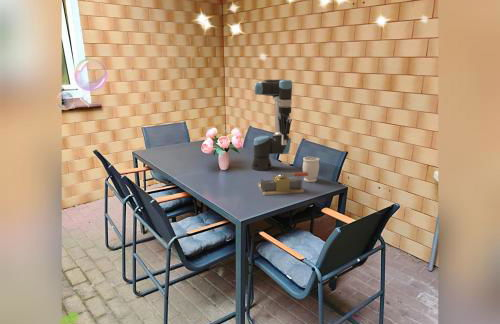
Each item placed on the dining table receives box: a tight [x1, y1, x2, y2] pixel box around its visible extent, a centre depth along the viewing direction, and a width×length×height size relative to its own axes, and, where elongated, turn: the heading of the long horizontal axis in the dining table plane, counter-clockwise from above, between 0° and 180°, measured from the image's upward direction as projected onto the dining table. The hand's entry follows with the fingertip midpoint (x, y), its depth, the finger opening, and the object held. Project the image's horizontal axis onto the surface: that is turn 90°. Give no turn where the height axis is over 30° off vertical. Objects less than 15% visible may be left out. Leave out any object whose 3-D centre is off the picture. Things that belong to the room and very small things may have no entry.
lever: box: [277, 171, 308, 178], centre depth 213 cm, size 18×4×2 cm, turn 95°
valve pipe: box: [260, 175, 303, 192], centre depth 214 cm, size 8×24×8 cm, turn 100°
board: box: [257, 182, 305, 196], centre depth 219 cm, size 18×25×1 cm
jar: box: [302, 156, 320, 183], centre depth 231 cm, size 11×10×15 cm
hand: (284, 144), depth 217 cm, fingers closed
